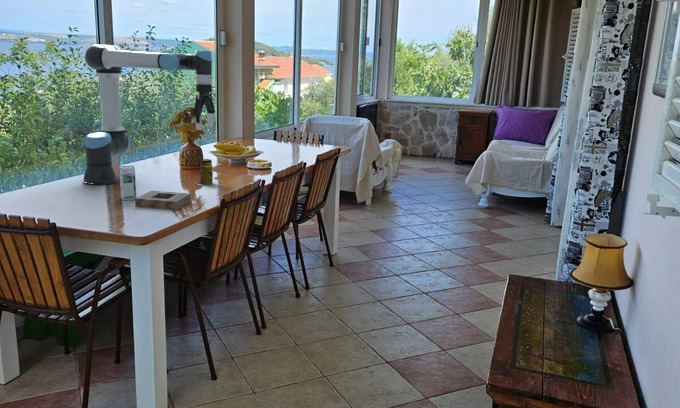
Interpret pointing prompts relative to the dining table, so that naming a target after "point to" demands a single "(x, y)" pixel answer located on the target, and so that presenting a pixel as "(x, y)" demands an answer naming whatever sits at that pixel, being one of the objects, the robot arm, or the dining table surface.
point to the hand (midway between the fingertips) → (204, 128)
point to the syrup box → (127, 182)
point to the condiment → (206, 172)
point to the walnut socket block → (162, 200)
